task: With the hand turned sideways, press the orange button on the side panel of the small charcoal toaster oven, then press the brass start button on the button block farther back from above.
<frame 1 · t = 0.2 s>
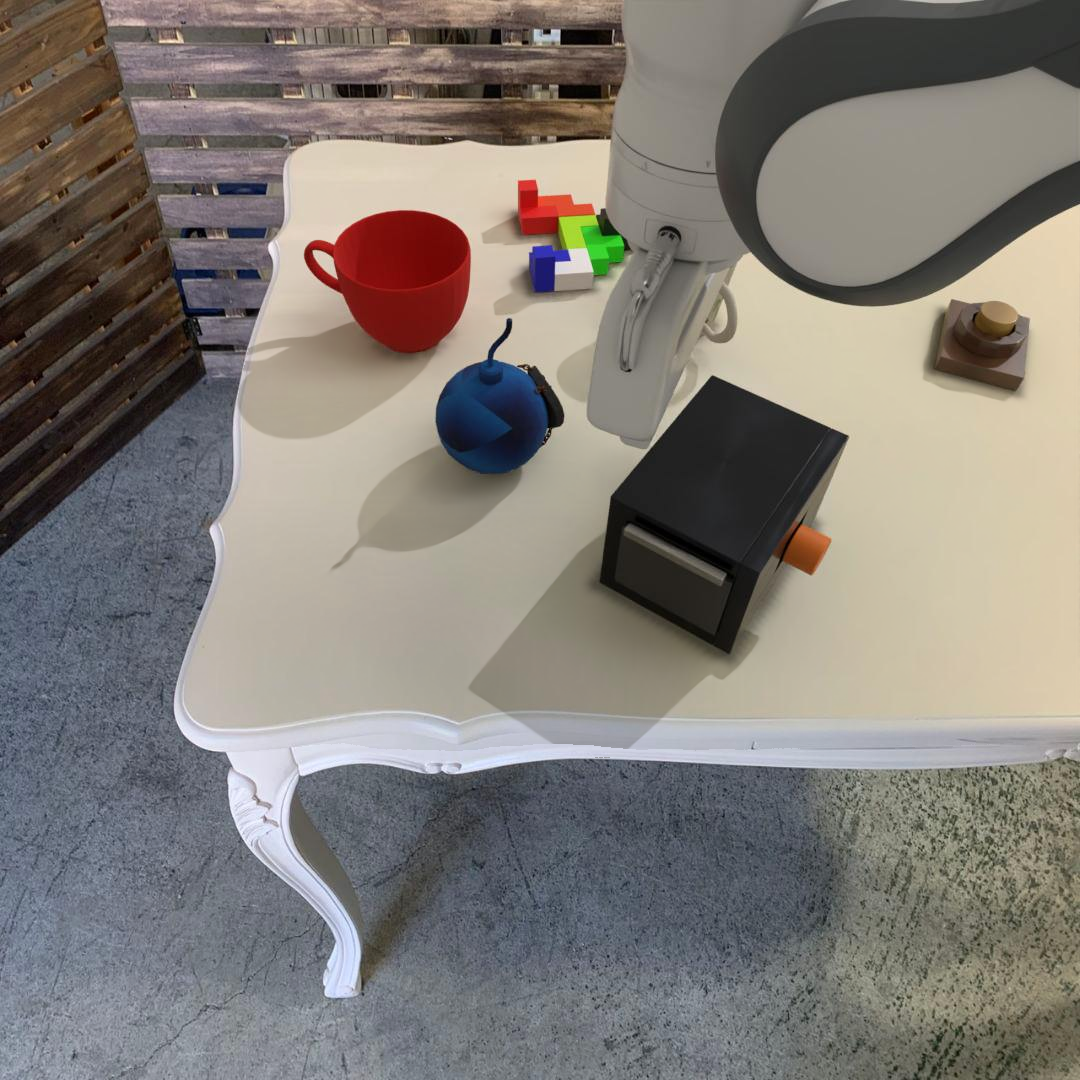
hand: (660, 388, 56), 22 cm above the table, tool pointing down, fingers open, 8 cm apart
ceramic cup: (393, 330, 93), on the table
building blocks: (581, 249, 102), on the table
bomb: (498, 455, 83), on the table
oven button: (806, 549, 69), point 6 cm above the table, slide at 0.1 cm
mug: (695, 333, 94), on the table
button block: (979, 349, 93), on the table
oven: (708, 552, 76), on the table
start button: (995, 319, 90), point 4 cm above the table, slide at 0.1 cm
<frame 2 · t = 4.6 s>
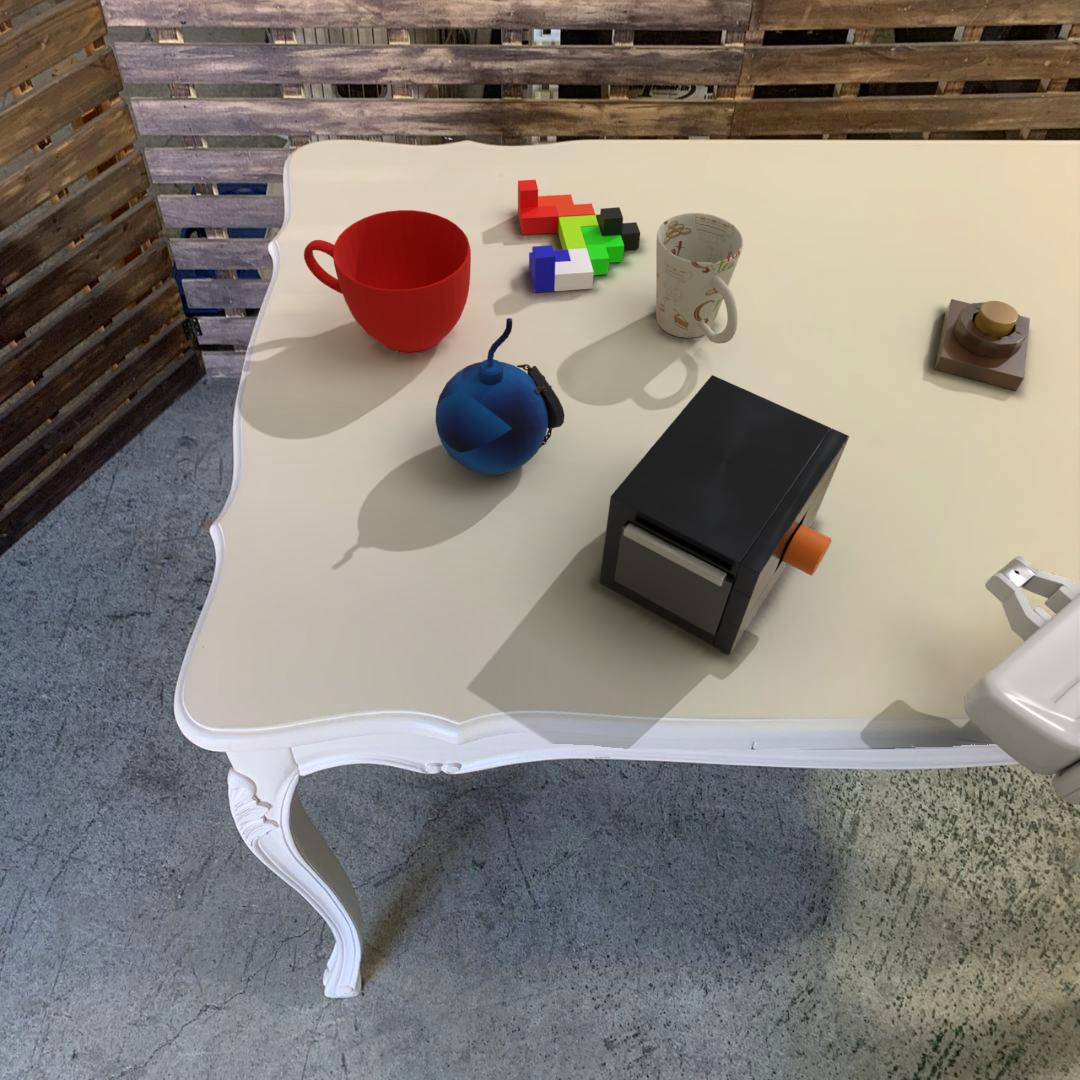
hand: (1000, 569, 65), 8 cm above the table, tool horizontal, fingers closed
nothing on the table moved.
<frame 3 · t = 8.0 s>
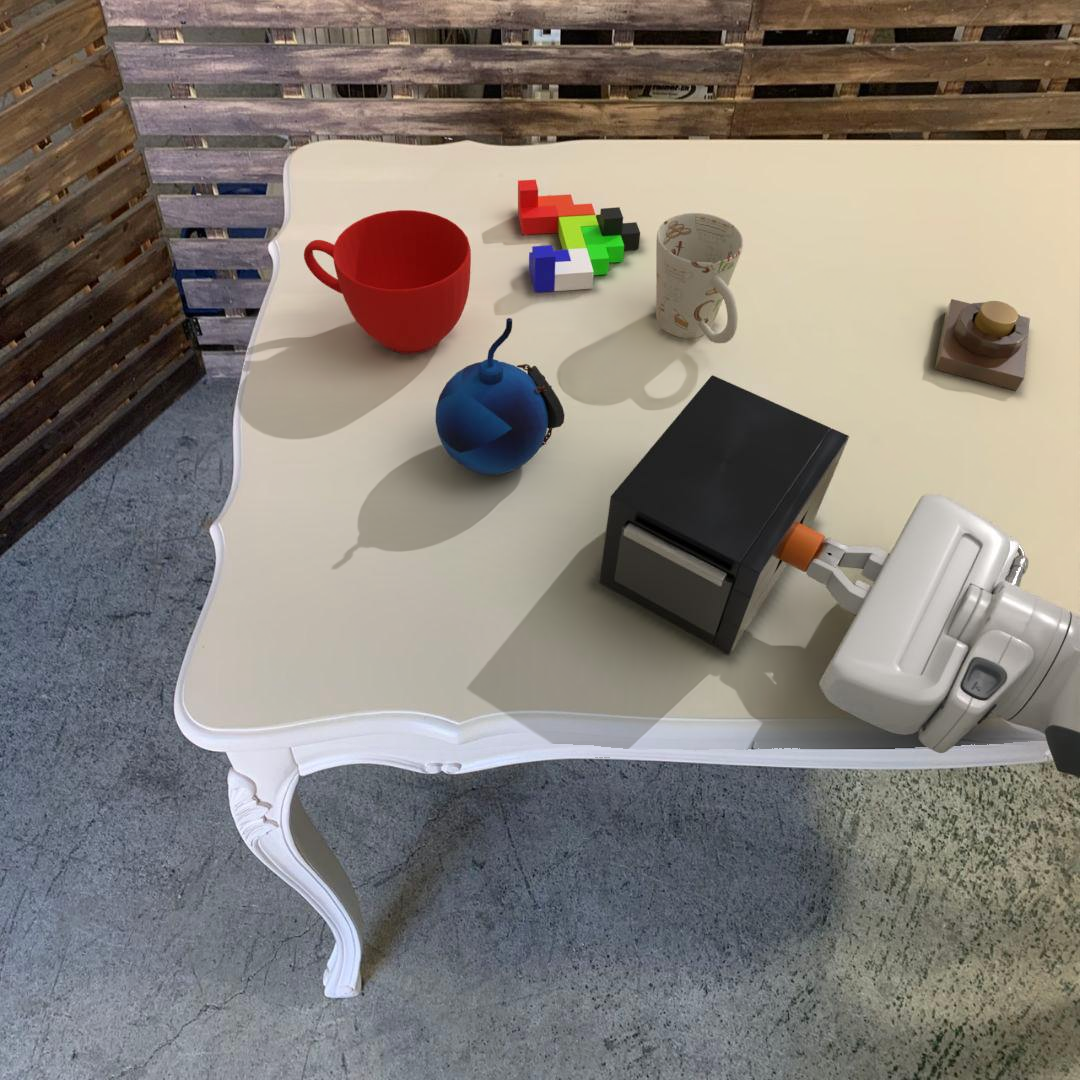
hand: (815, 555, 69), 6 cm above the table, tool horizontal, fingers closed, pressing on oven button
oven button: (800, 546, 69), point 6 cm above the table, slide at -0.5 cm, touching gripper
everything else where it was.
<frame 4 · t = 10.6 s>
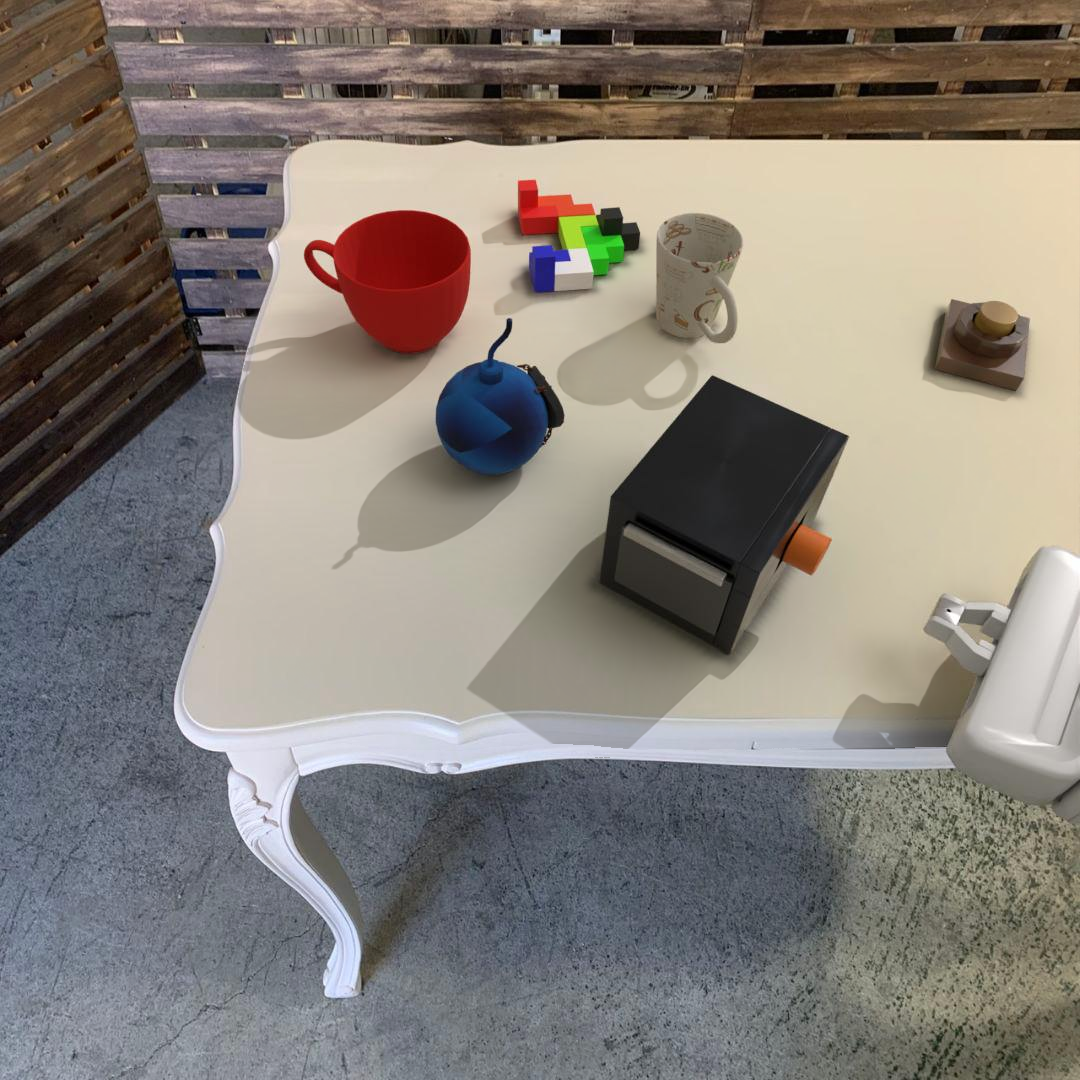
hand: (932, 611, 66), 6 cm above the table, tool horizontal, fingers closed
oven button: (806, 549, 69), point 6 cm above the table, slide at 0.1 cm
everything else where it was.
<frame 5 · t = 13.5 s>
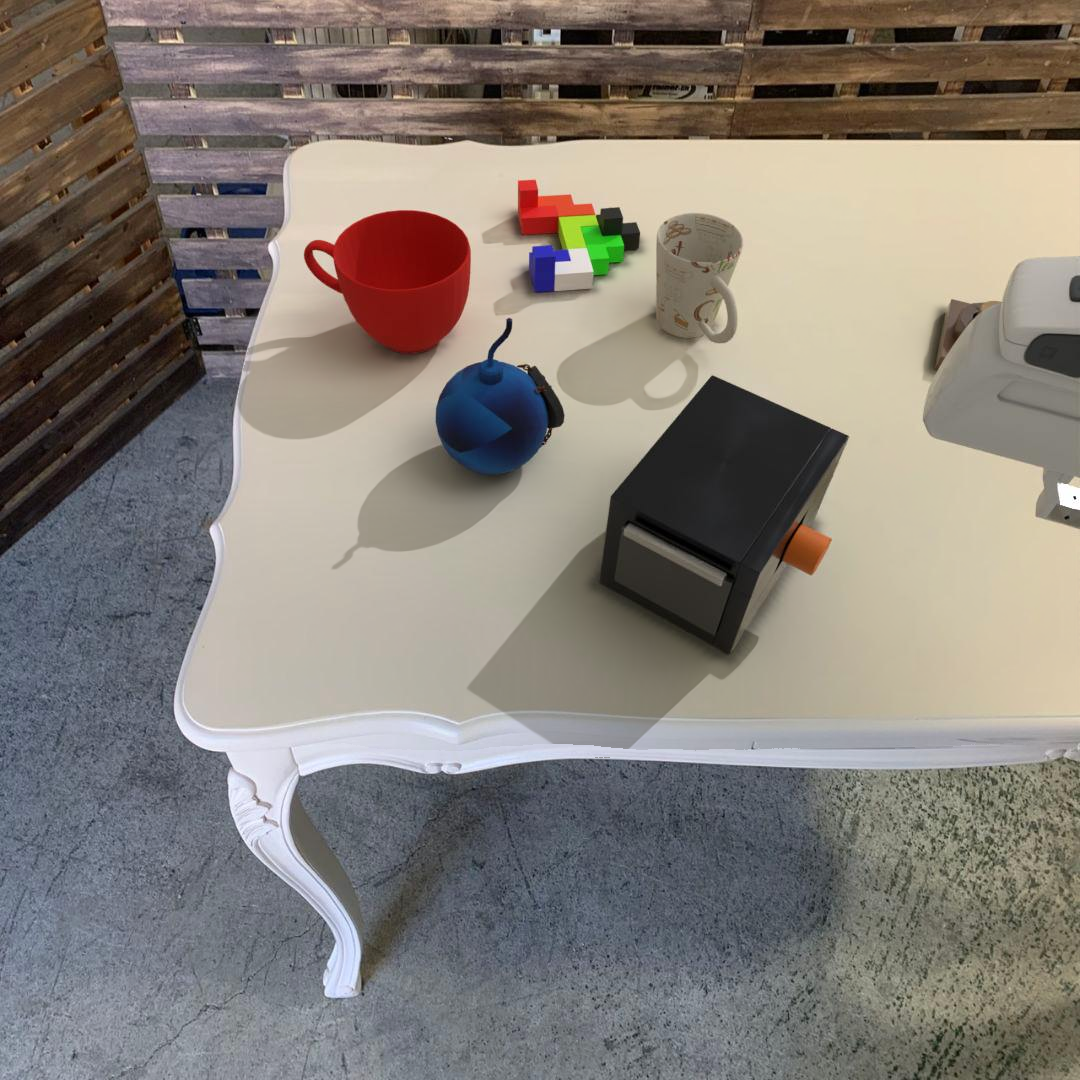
hand: (1060, 516, 55), 19 cm above the table, tool pointing down, fingers closed
nothing on the table moved.
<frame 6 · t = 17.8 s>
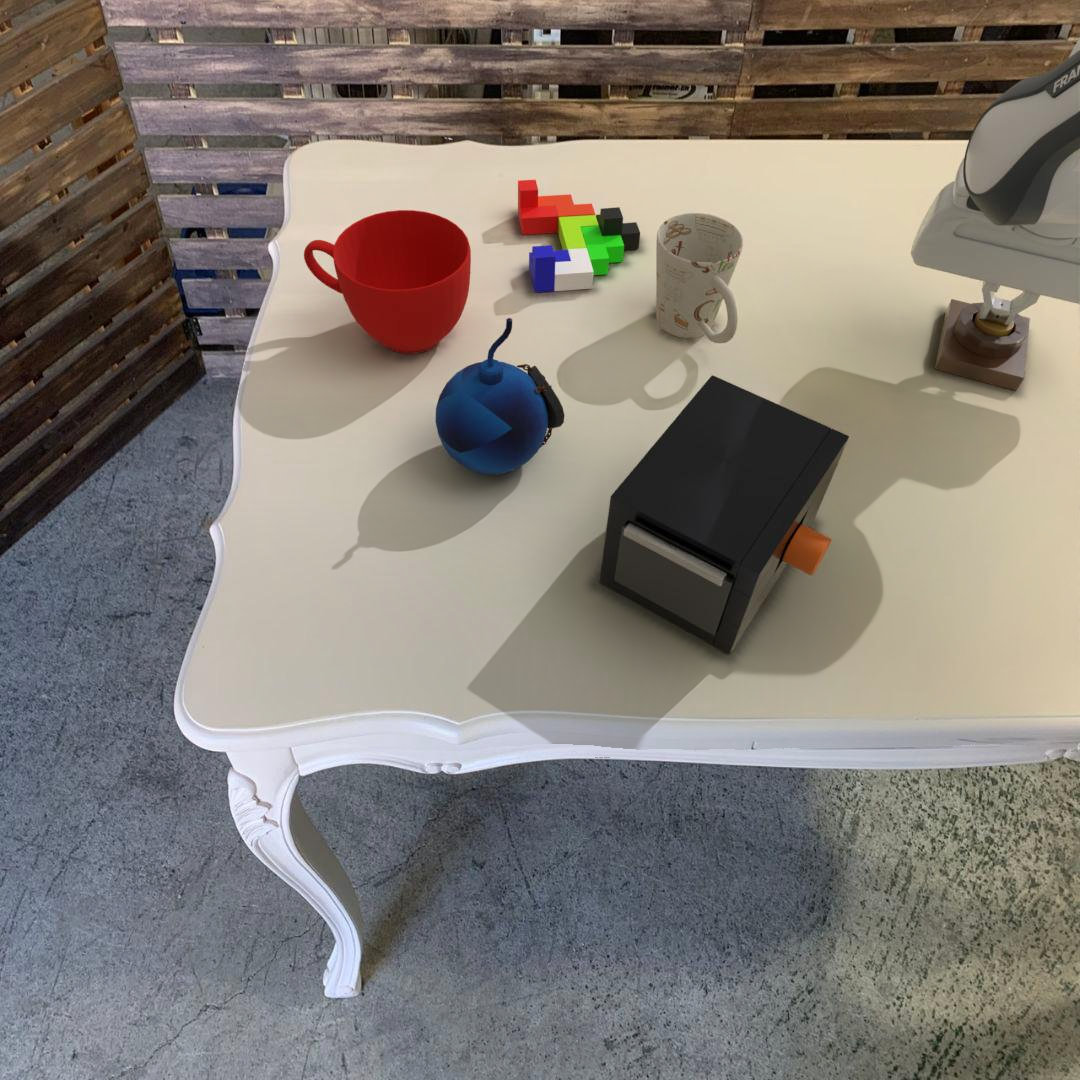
hand: (994, 318, 90), 4 cm above the table, tool pointing down, fingers closed, pressing on start button
start button: (991, 326, 91), point 3 cm above the table, slide at -0.8 cm, touching gripper
everything else where it was.
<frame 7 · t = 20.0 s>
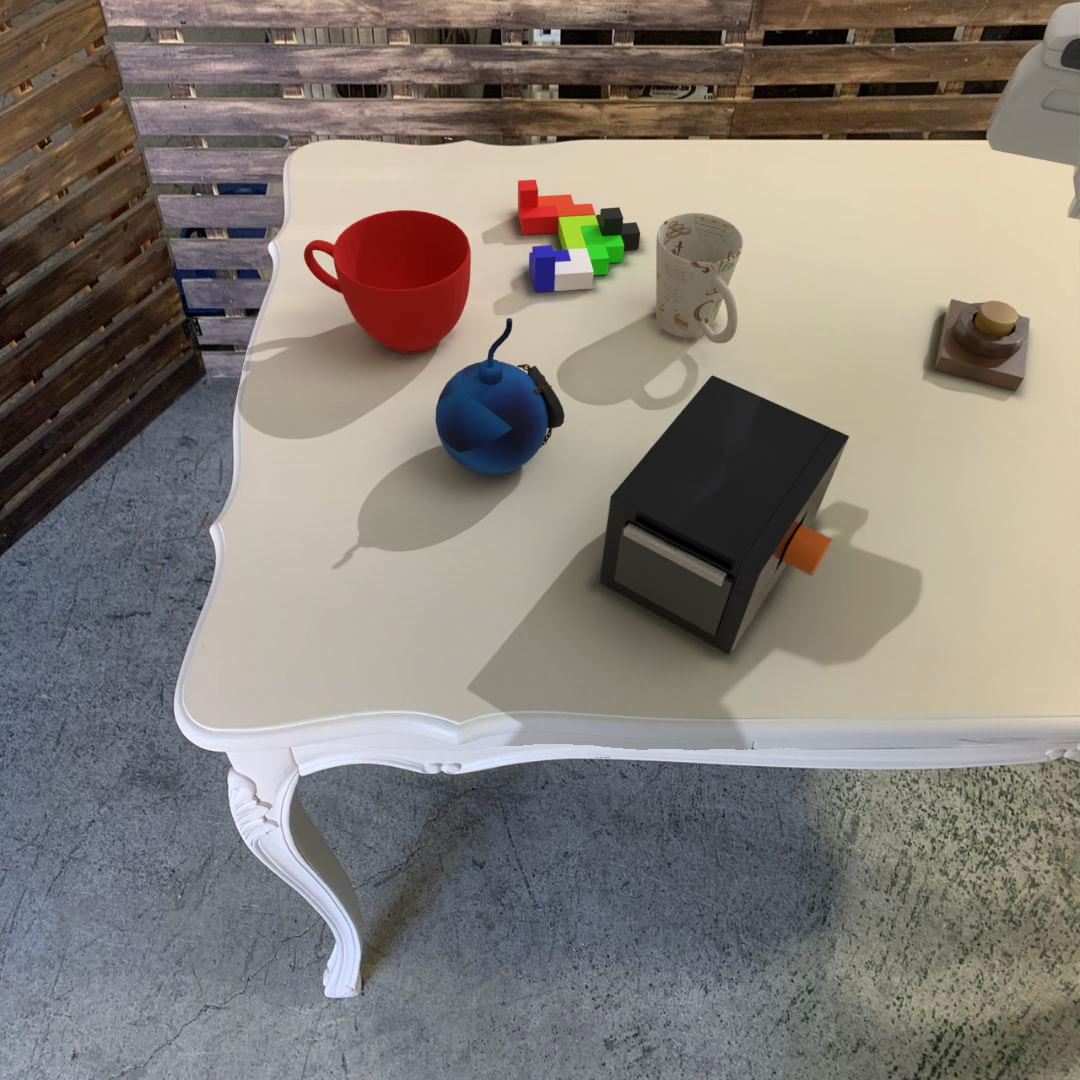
start button: (995, 319, 90), point 4 cm above the table, slide at 0.1 cm
everything else where it was.
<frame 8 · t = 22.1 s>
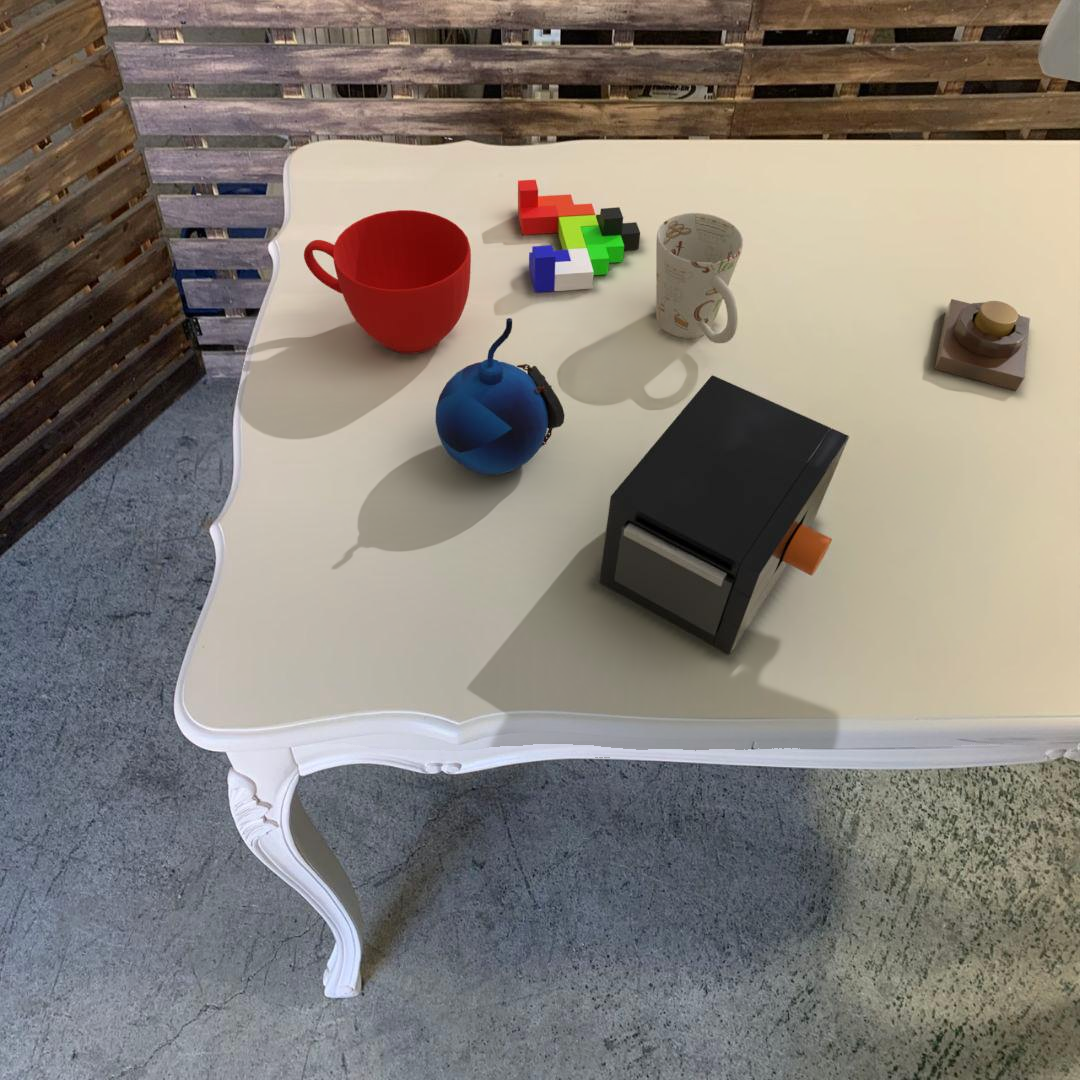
nothing on the table moved.
at the end: oven button pushed in 1.1 cm at the most during the clip, back to where it started at the end; start button pushed in 1.1 cm at the most during the clip, back to where it started at the end; start button slide at 0.1 cm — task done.
